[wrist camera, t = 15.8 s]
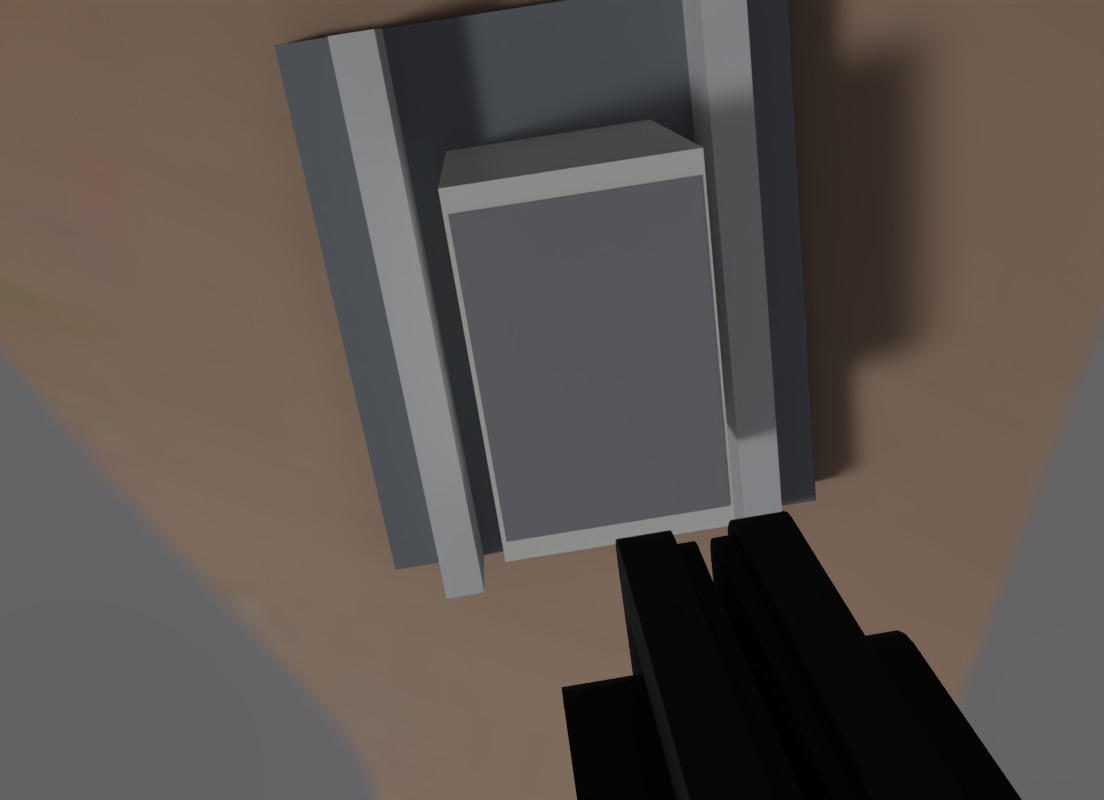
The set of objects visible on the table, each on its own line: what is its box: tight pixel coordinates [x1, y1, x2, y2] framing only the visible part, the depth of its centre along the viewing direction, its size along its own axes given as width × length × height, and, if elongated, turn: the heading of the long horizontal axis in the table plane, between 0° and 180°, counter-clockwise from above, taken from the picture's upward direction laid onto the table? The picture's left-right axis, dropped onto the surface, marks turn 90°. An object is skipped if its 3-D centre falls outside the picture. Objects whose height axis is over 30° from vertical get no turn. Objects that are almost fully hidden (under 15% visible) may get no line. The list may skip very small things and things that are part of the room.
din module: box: [438, 120, 735, 562], centre depth 23 cm, size 8×5×6 cm, turn 8°
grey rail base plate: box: [275, 0, 816, 599], centre depth 25 cm, size 14×12×3 cm
